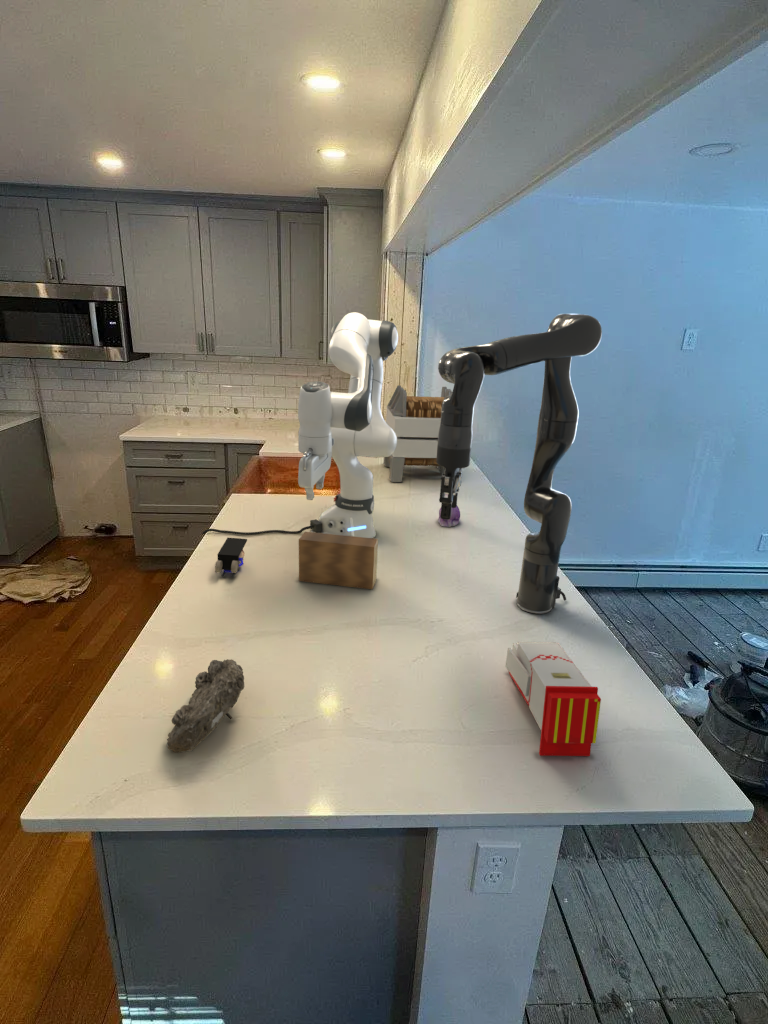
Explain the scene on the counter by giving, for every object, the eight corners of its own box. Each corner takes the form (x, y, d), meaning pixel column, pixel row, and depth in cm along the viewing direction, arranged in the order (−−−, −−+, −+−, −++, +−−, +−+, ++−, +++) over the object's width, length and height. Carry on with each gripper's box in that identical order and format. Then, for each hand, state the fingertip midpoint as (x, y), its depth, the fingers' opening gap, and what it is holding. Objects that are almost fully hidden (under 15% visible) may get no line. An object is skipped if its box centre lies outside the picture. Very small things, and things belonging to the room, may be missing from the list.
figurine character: (238, 584, 162) (249, 557, 175) (236, 562, 158) (247, 536, 172) (215, 584, 161) (227, 556, 175) (212, 561, 158) (225, 535, 171)
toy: (554, 624, 127) (610, 694, 97) (548, 679, 130) (602, 763, 100) (500, 623, 126) (541, 693, 97) (496, 678, 129) (534, 763, 100)
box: (298, 581, 163) (298, 539, 158) (305, 572, 168) (304, 531, 164) (372, 589, 160) (374, 547, 155) (376, 579, 165) (378, 538, 161)
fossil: (192, 660, 117) (244, 628, 112) (224, 691, 120) (276, 661, 115) (142, 746, 98) (202, 712, 93) (182, 779, 101) (242, 748, 96)
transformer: (382, 463, 289) (386, 382, 275) (445, 464, 293) (451, 384, 279) (390, 482, 257) (394, 392, 243) (460, 483, 261) (468, 394, 247)
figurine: (445, 529, 206) (449, 489, 200) (430, 519, 214) (433, 481, 209) (467, 525, 210) (470, 487, 205) (451, 516, 218) (454, 479, 213)
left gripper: (316, 455, 141) (316, 507, 146) (335, 437, 160) (335, 484, 165) (291, 453, 142) (292, 505, 147) (314, 435, 161) (314, 482, 166)
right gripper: (466, 452, 118) (460, 525, 124) (475, 439, 131) (469, 505, 137) (431, 449, 120) (426, 520, 125) (443, 436, 133) (438, 501, 138)
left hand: (315, 493), depth 156 cm, fingers open, 8 cm apart
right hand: (448, 512), depth 131 cm, fingers open, 8 cm apart
